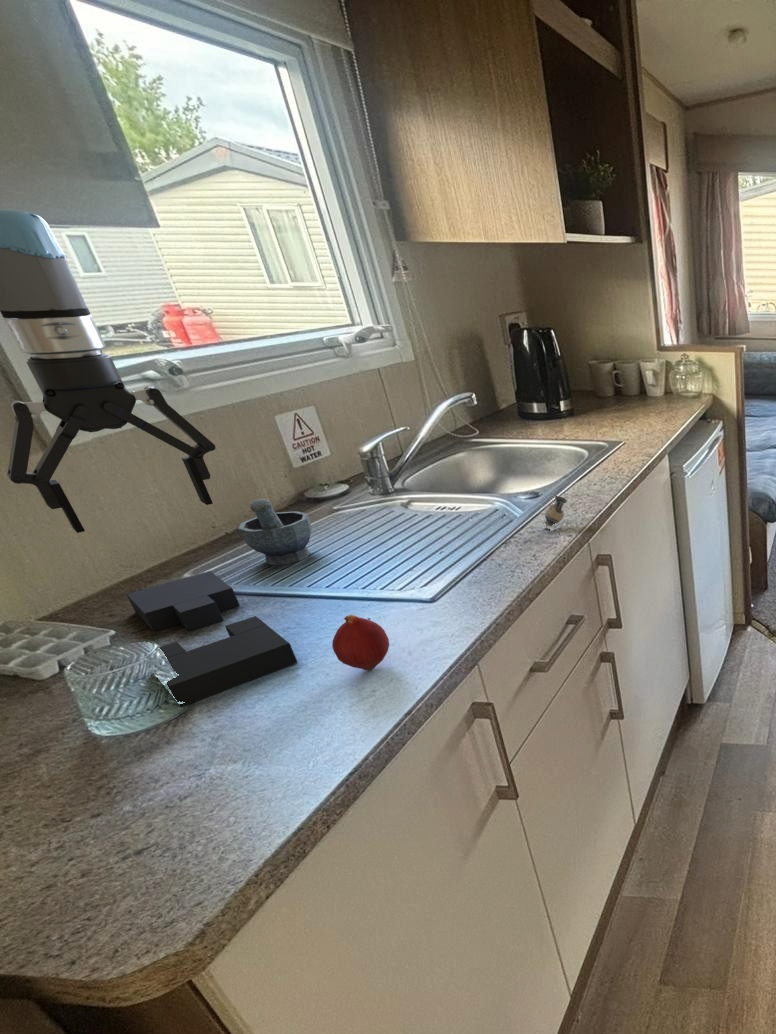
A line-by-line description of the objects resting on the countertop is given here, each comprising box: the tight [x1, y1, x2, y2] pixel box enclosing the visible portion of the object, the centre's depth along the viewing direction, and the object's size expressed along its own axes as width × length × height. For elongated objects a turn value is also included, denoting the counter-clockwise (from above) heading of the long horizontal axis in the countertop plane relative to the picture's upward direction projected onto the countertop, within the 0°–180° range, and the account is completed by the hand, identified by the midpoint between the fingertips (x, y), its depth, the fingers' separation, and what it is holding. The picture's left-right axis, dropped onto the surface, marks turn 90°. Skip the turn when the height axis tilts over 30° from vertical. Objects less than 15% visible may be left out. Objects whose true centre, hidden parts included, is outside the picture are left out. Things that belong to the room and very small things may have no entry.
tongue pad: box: [125, 570, 240, 633], centre depth 96 cm, size 14×10×3 cm
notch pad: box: [158, 615, 298, 708], centre depth 83 cm, size 12×12×3 cm
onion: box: [331, 614, 390, 671], centre depth 82 cm, size 6×6×8 cm
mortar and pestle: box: [238, 498, 313, 566], centre depth 111 cm, size 11×9×12 cm
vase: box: [537, 495, 568, 533], centre depth 127 cm, size 5×5×6 cm
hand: (146, 515), depth 91 cm, fingers open, 13 cm apart
